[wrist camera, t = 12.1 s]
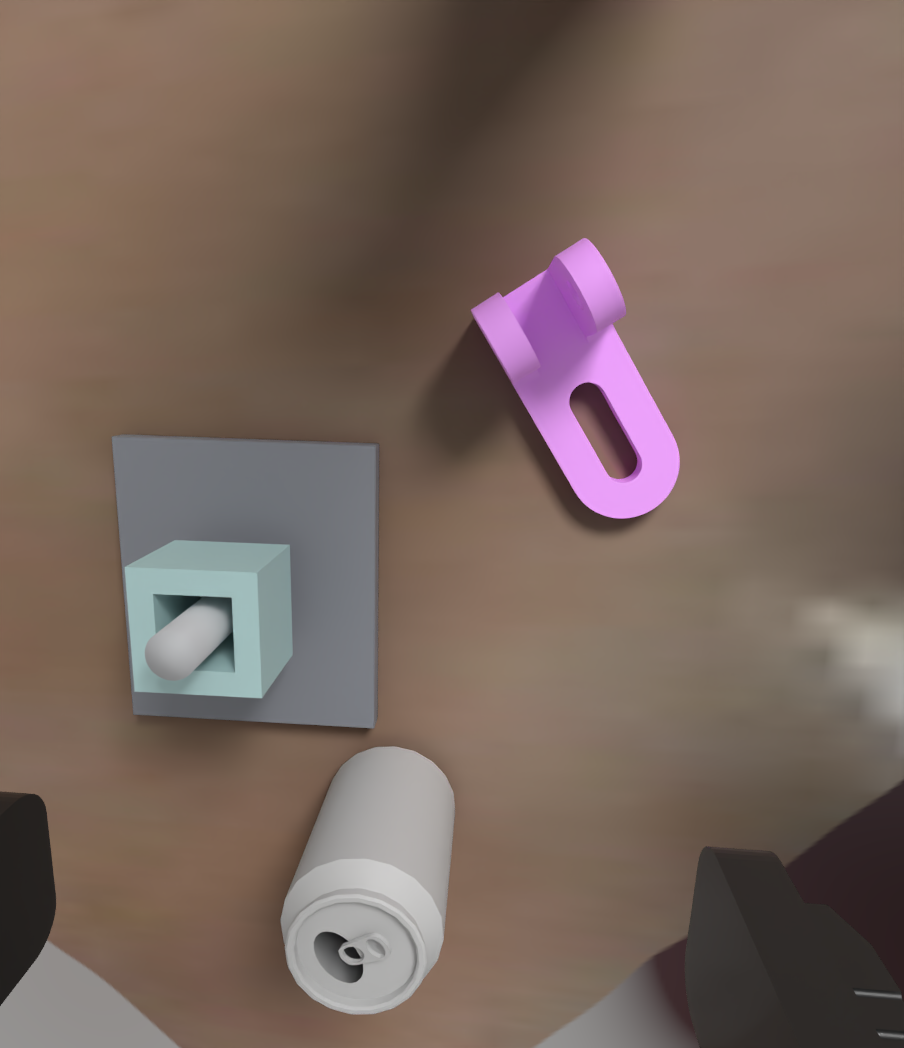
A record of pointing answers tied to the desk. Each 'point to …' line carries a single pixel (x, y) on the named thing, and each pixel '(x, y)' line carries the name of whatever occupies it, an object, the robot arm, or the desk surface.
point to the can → (372, 883)
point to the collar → (215, 571)
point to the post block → (267, 518)
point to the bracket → (581, 377)
